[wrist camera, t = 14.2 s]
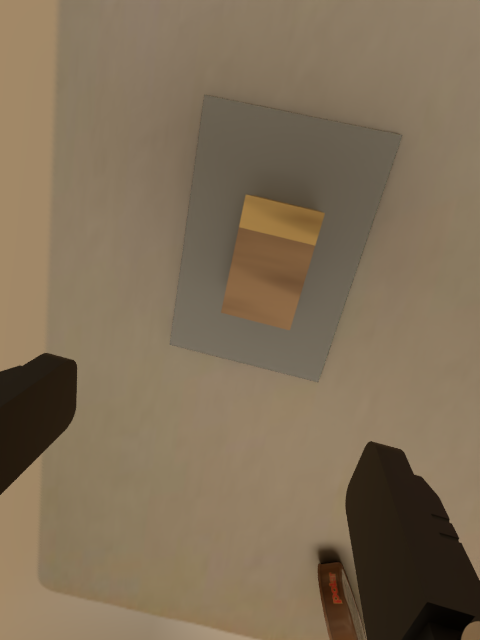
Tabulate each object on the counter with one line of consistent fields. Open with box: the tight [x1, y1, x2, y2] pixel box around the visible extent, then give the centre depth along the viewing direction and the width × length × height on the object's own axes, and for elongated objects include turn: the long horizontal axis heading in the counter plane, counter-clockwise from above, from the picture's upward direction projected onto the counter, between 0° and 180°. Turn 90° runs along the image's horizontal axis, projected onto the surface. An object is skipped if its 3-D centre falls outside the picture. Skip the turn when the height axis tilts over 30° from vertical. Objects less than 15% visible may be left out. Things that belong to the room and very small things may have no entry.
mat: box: [170, 95, 402, 382], centre depth 27 cm, size 20×14×1 cm
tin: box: [318, 562, 366, 640], centre depth 35 cm, size 15×3×8 cm, turn 19°
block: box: [221, 195, 325, 330], centre depth 24 cm, size 5×5×8 cm
